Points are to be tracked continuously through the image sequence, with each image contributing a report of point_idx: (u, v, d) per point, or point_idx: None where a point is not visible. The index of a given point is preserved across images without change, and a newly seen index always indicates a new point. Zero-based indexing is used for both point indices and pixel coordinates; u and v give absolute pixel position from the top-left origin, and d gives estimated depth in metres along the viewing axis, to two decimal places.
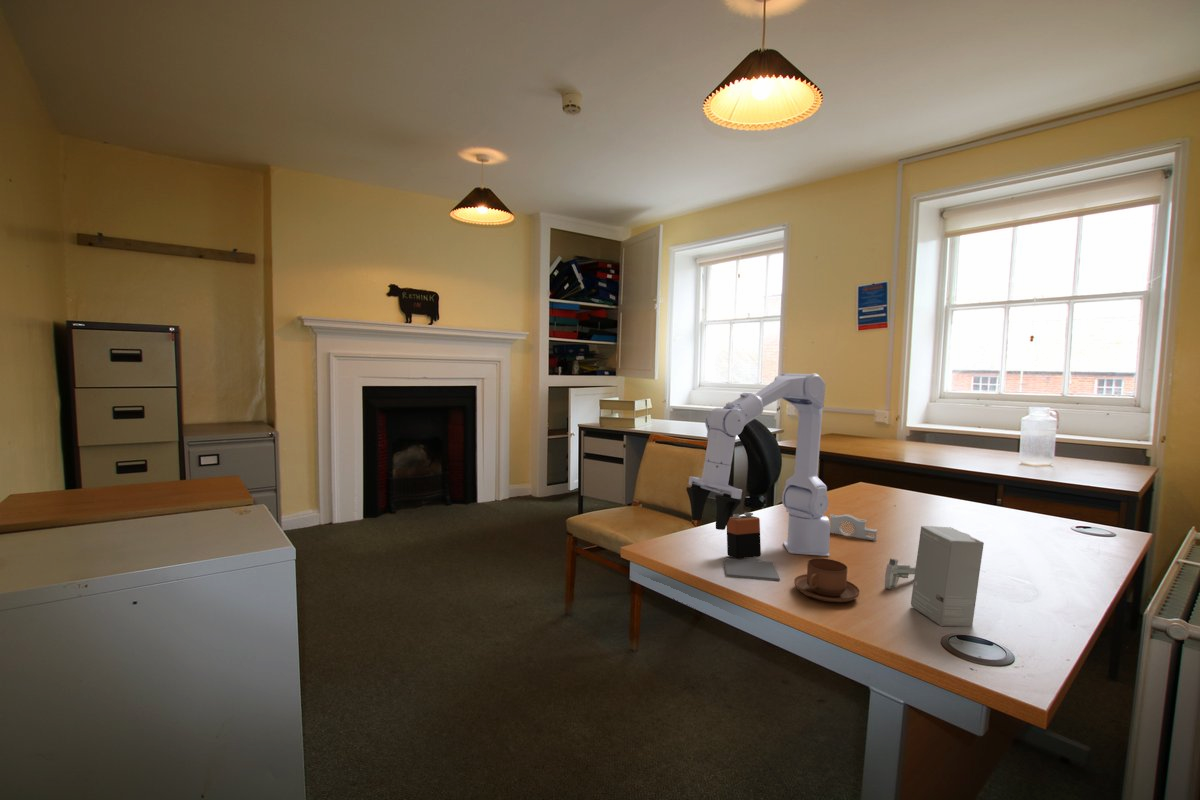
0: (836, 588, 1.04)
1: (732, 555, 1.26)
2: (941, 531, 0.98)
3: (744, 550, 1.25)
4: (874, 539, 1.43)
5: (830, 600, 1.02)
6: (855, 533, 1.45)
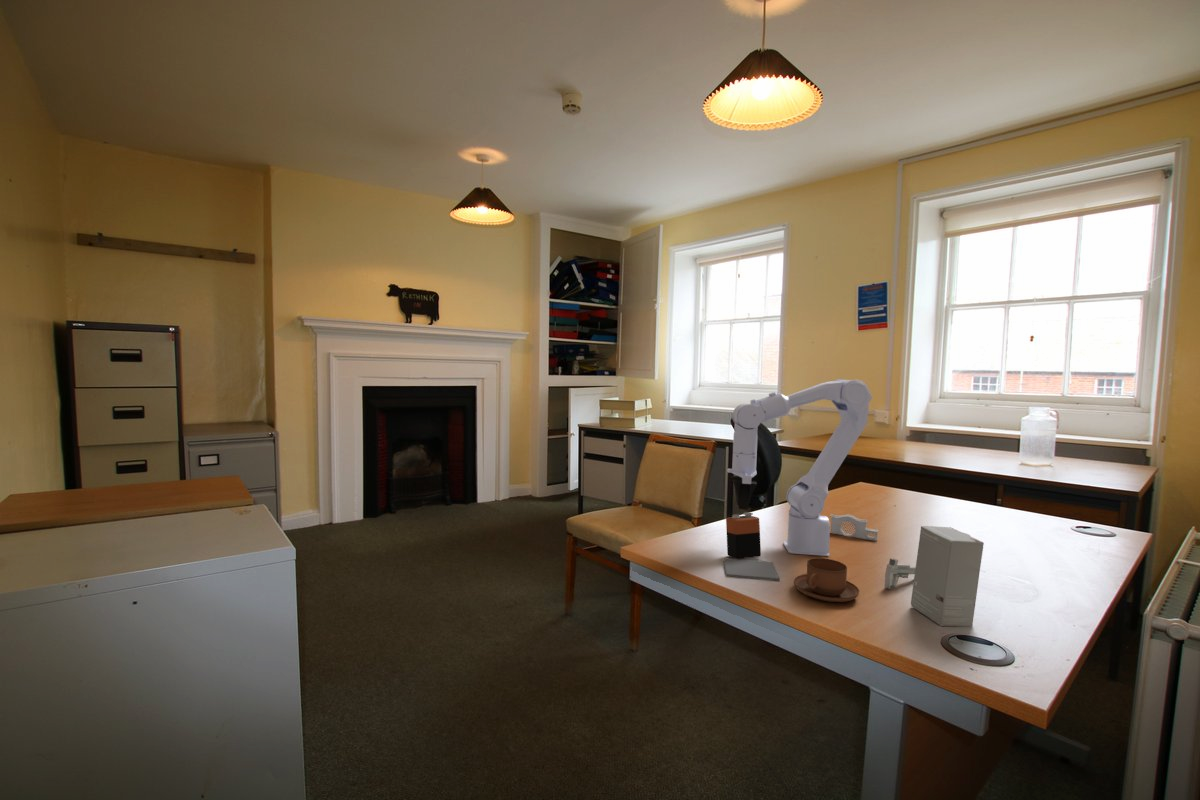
0: (835, 588, 1.04)
1: (732, 555, 1.26)
2: (941, 531, 0.98)
3: (744, 550, 1.25)
4: (875, 539, 1.43)
5: (830, 600, 1.02)
6: (856, 533, 1.45)
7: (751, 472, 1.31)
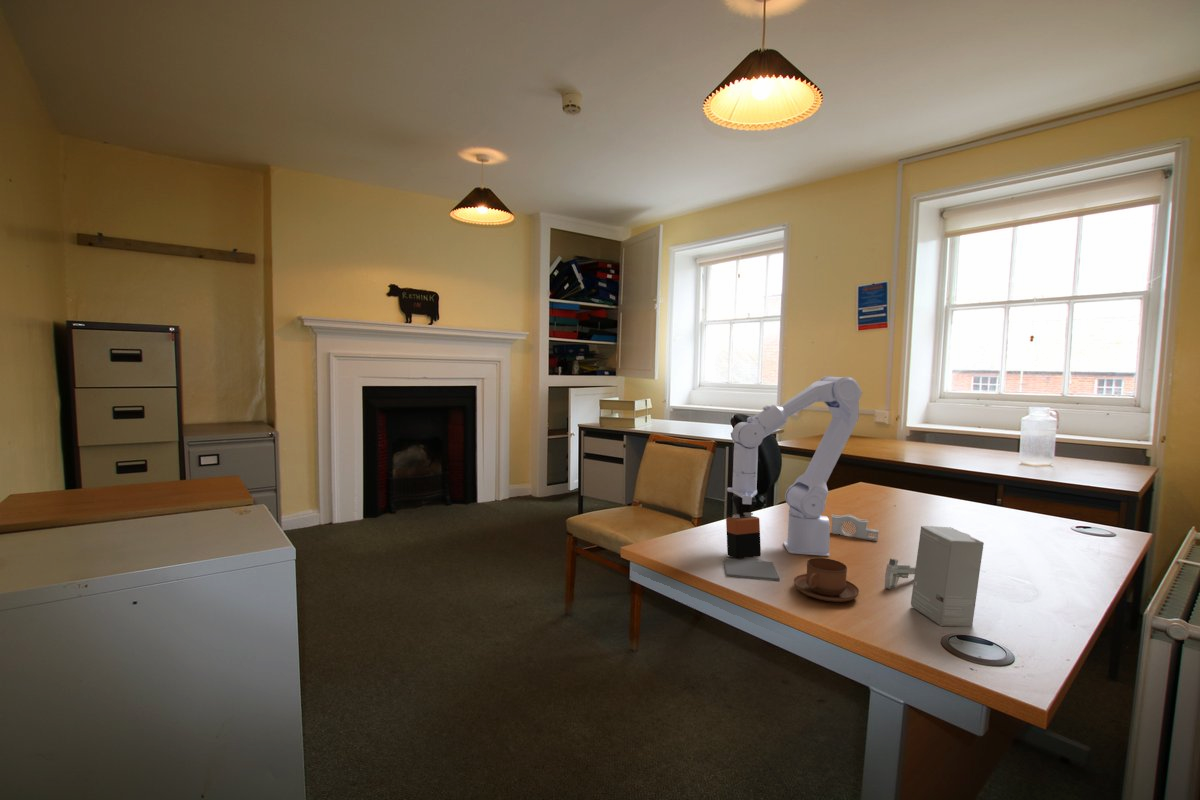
0: (835, 588, 1.04)
1: (732, 555, 1.26)
2: (941, 531, 0.98)
3: (744, 550, 1.25)
4: (876, 539, 1.43)
5: (829, 600, 1.02)
6: (857, 533, 1.45)
7: (751, 492, 1.29)
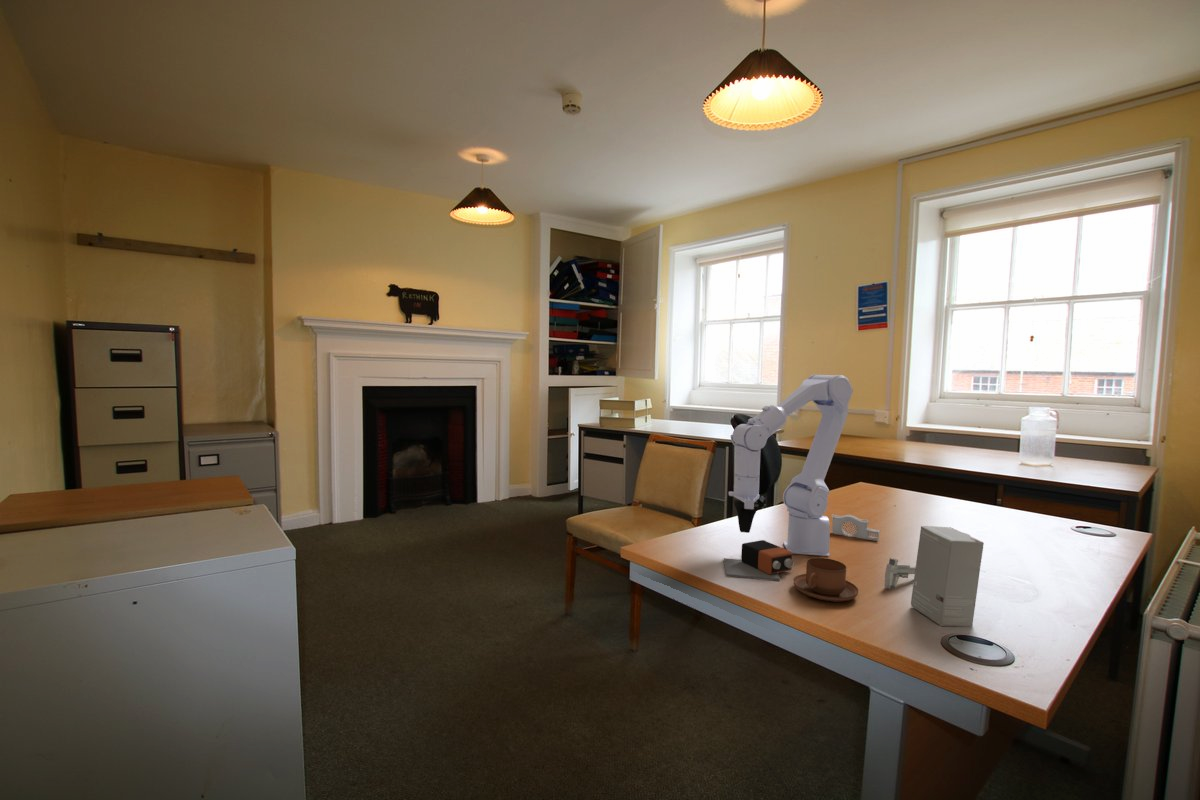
0: (835, 587, 1.04)
1: (742, 554, 1.23)
2: (941, 531, 0.98)
3: None
4: (876, 539, 1.43)
5: (829, 599, 1.02)
6: (857, 533, 1.45)
7: (754, 496, 1.25)
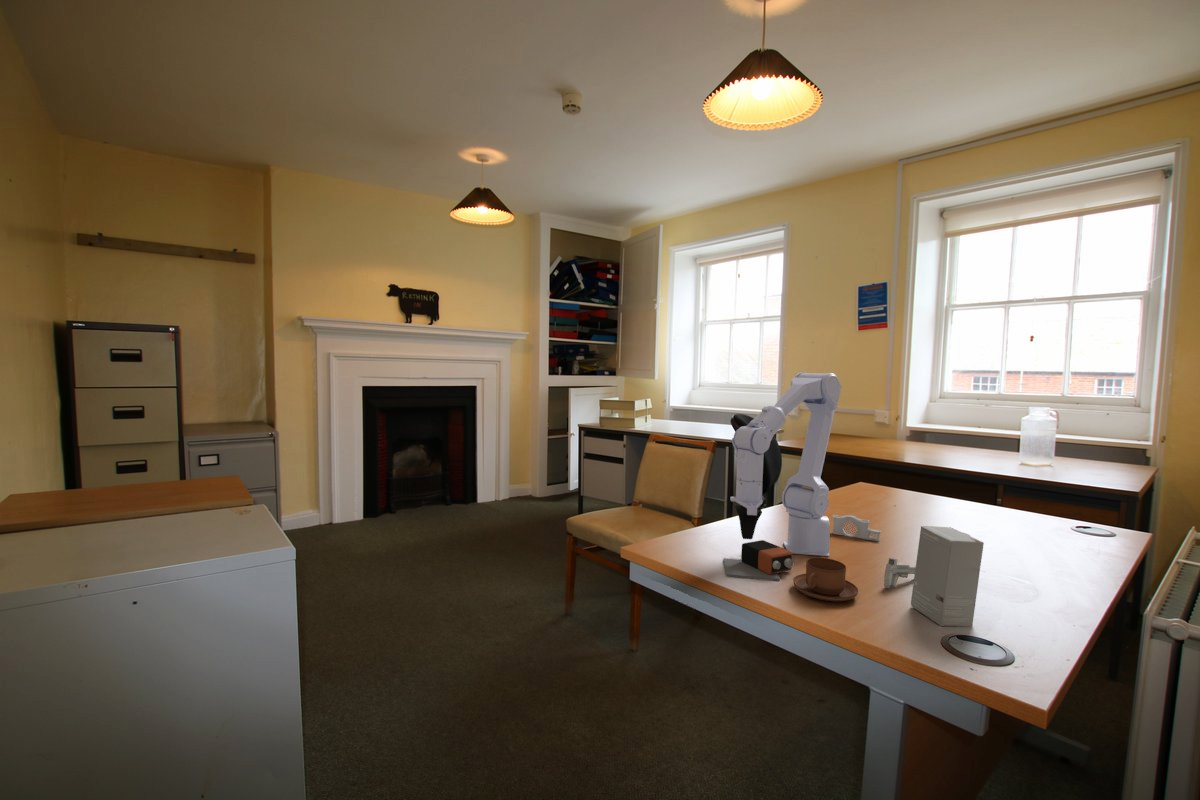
0: (834, 587, 1.04)
1: (742, 554, 1.23)
2: (941, 531, 0.98)
3: None
4: (877, 540, 1.42)
5: (829, 599, 1.03)
6: (858, 534, 1.45)
7: (756, 501, 1.20)
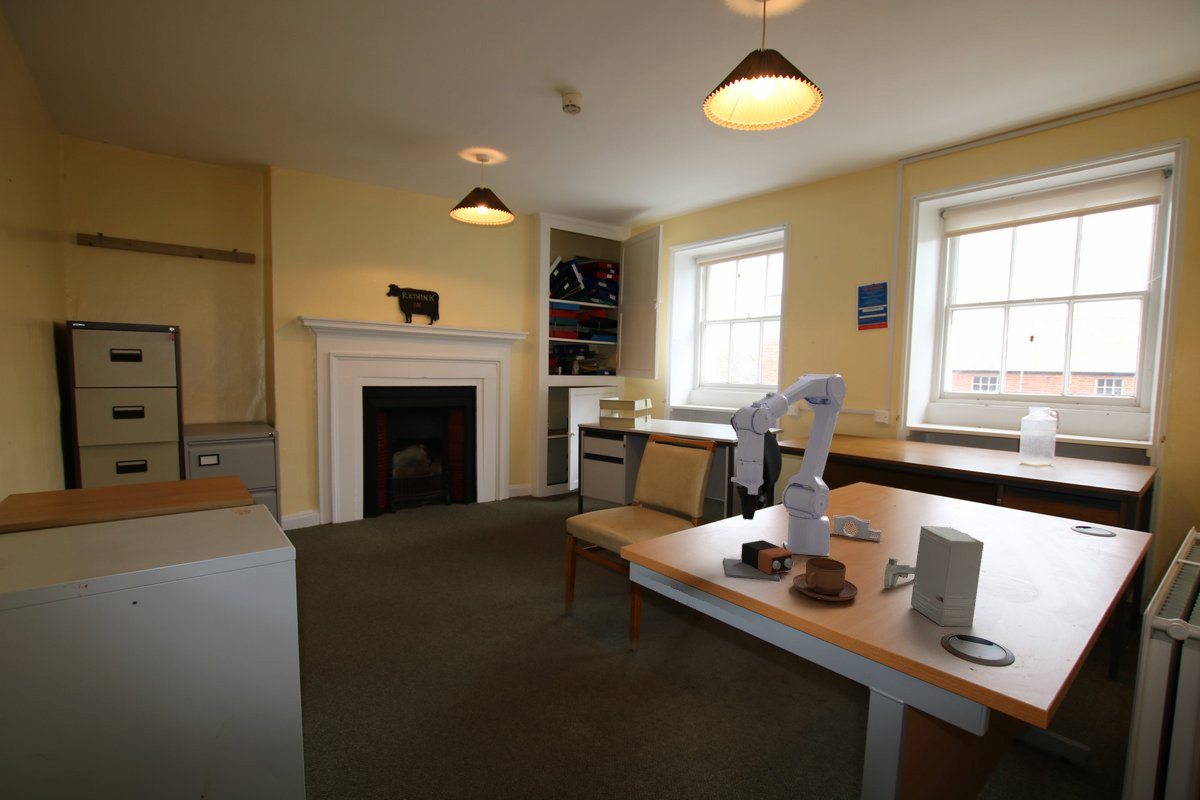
0: (834, 587, 1.05)
1: (742, 554, 1.23)
2: (941, 531, 0.98)
3: None
4: (878, 540, 1.42)
5: (828, 599, 1.03)
6: (859, 534, 1.45)
7: (757, 481, 1.20)
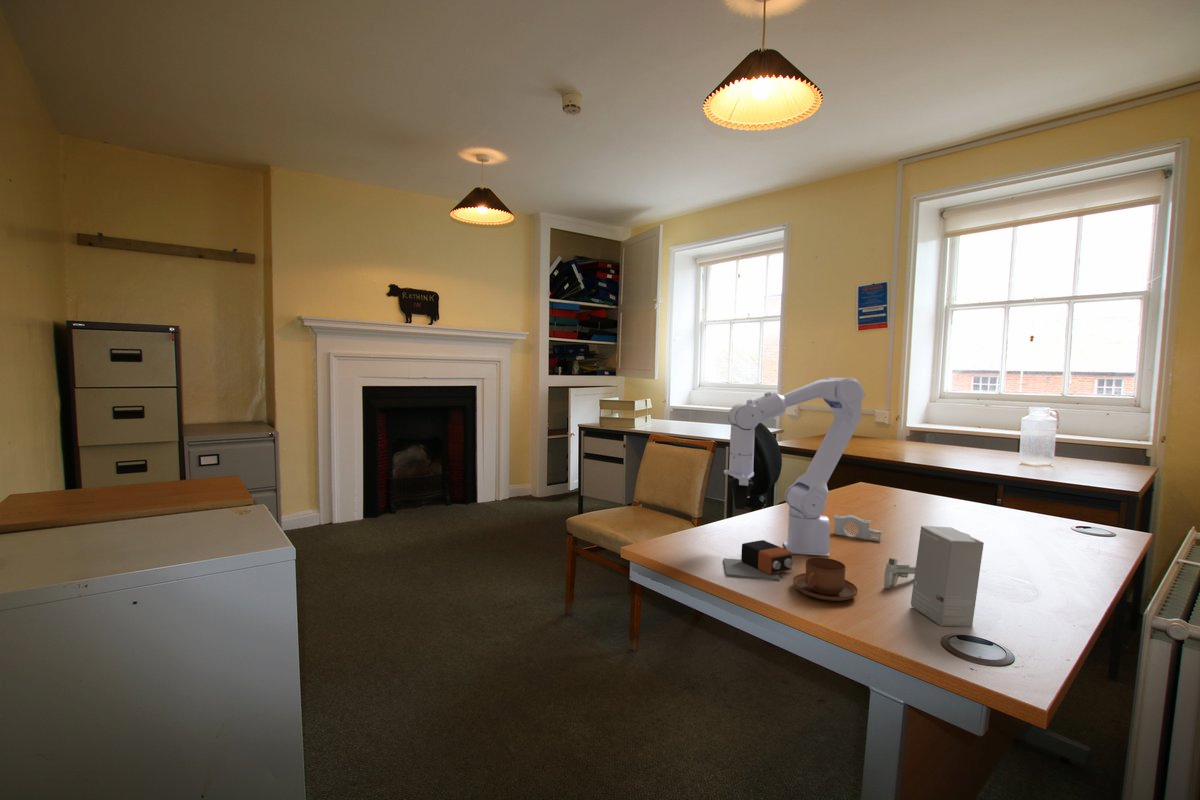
0: (834, 587, 1.05)
1: (742, 554, 1.23)
2: (941, 531, 0.98)
3: None
4: (879, 540, 1.42)
5: (828, 599, 1.03)
6: (859, 534, 1.45)
7: (748, 473, 1.29)
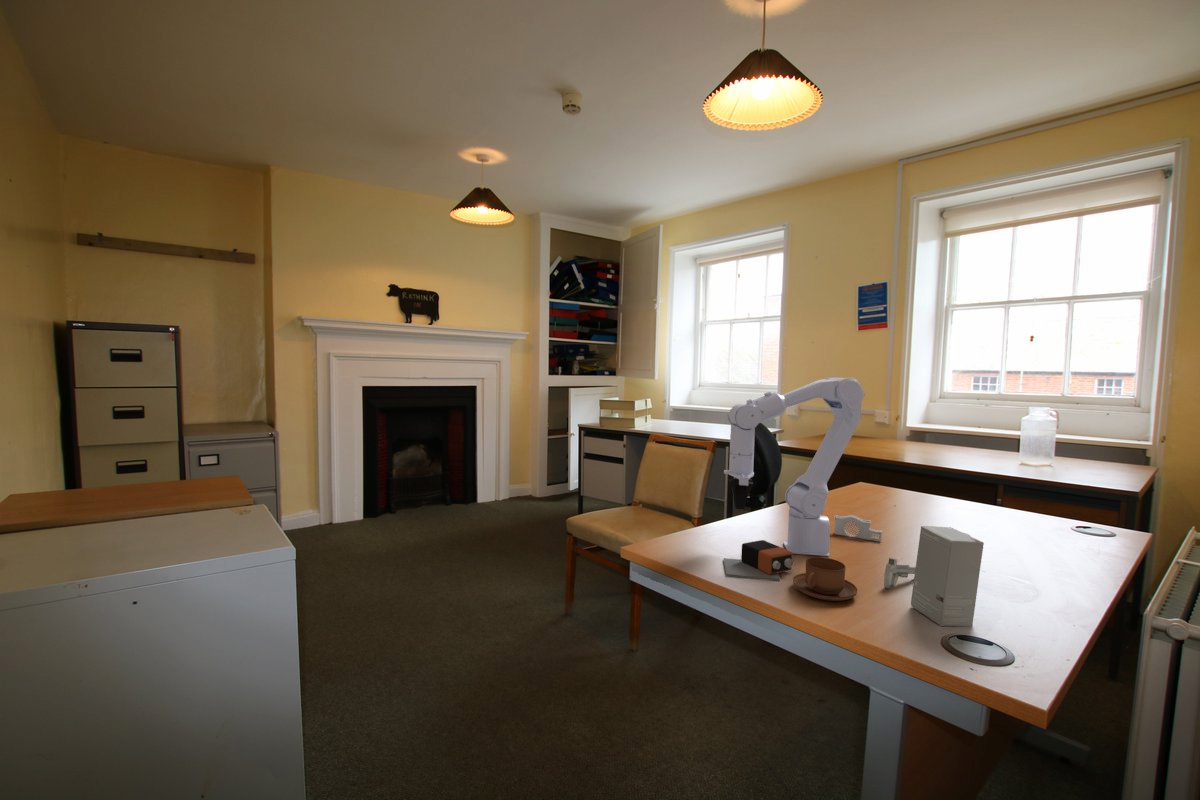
0: (834, 587, 1.05)
1: (742, 554, 1.23)
2: (941, 531, 0.98)
3: None
4: (879, 540, 1.42)
5: (828, 599, 1.03)
6: (860, 534, 1.45)
7: (748, 473, 1.29)
